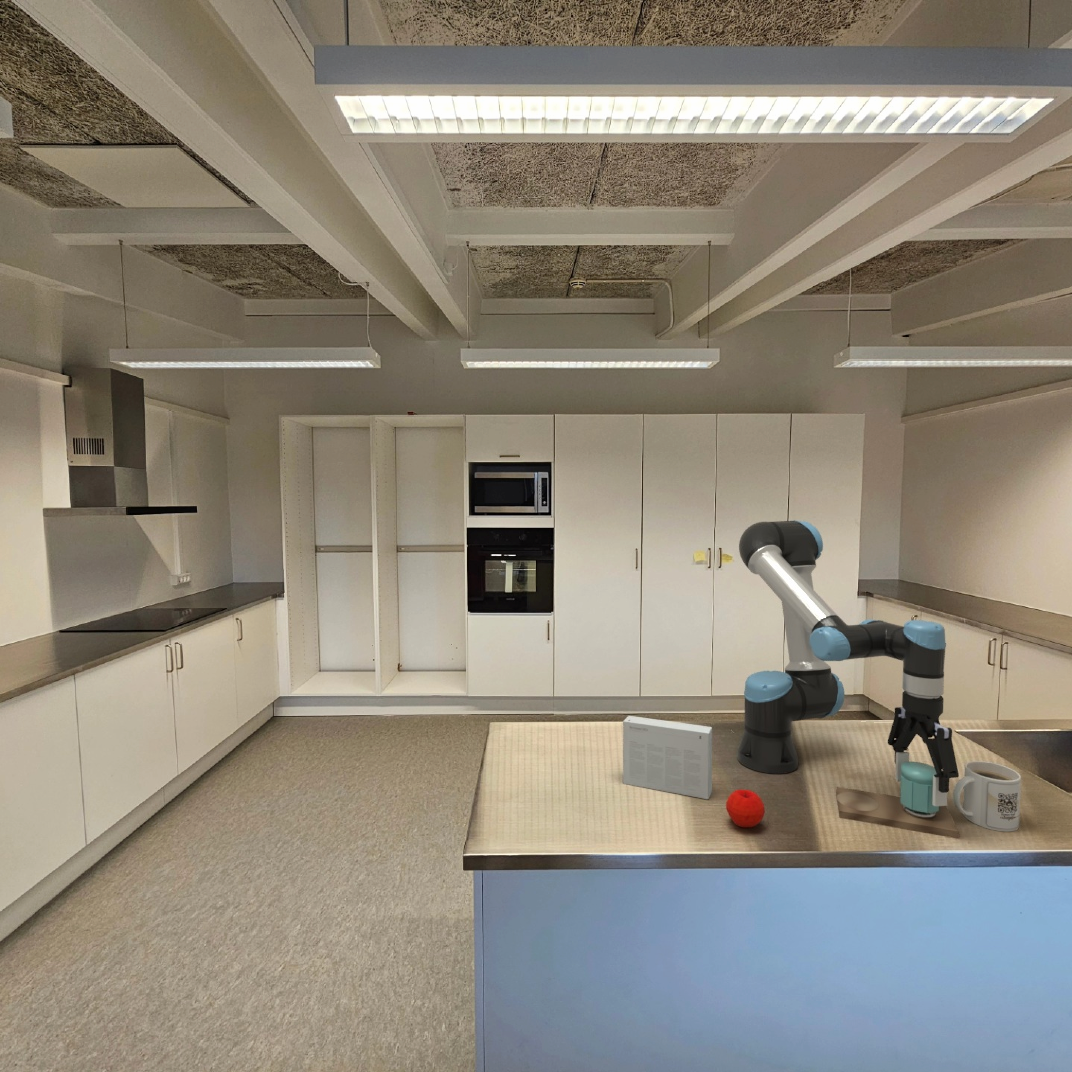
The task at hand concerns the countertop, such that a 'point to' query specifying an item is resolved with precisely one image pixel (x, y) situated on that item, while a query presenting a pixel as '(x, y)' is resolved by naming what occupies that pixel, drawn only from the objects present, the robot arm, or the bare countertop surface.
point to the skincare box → (667, 756)
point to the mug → (990, 795)
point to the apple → (745, 808)
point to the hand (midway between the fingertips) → (919, 792)
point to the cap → (917, 786)
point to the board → (891, 812)
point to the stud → (919, 813)
